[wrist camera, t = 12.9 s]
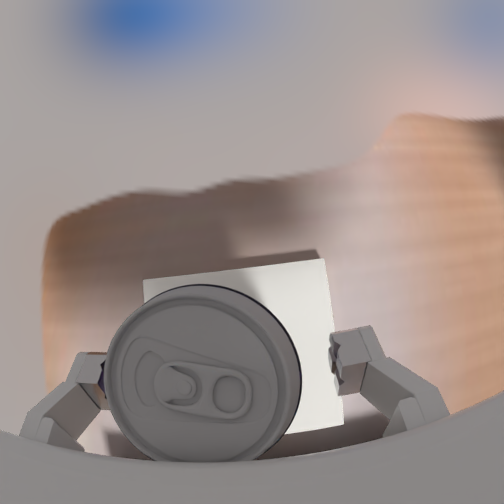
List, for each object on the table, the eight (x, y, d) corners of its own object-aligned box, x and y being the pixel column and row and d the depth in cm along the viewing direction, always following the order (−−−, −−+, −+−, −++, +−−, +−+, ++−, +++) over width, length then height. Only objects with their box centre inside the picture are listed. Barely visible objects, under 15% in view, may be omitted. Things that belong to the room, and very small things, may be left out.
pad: (322, 260, 21) (324, 258, 20) (341, 421, 18) (344, 424, 17) (147, 281, 21) (142, 279, 20) (164, 436, 18) (160, 439, 17)
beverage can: (198, 303, 19) (104, 264, 8) (288, 313, 19) (319, 288, 7) (188, 390, 18) (89, 455, 6) (277, 402, 18) (290, 498, 6)
